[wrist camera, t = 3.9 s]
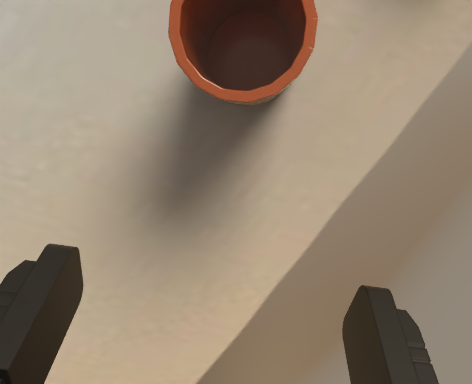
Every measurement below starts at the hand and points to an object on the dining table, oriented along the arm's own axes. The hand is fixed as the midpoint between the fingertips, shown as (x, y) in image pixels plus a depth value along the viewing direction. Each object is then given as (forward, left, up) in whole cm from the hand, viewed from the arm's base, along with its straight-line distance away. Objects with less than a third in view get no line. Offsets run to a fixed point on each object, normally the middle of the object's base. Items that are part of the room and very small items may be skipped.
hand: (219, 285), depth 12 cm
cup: (+3, +8, -18) cm, 20 cm away
